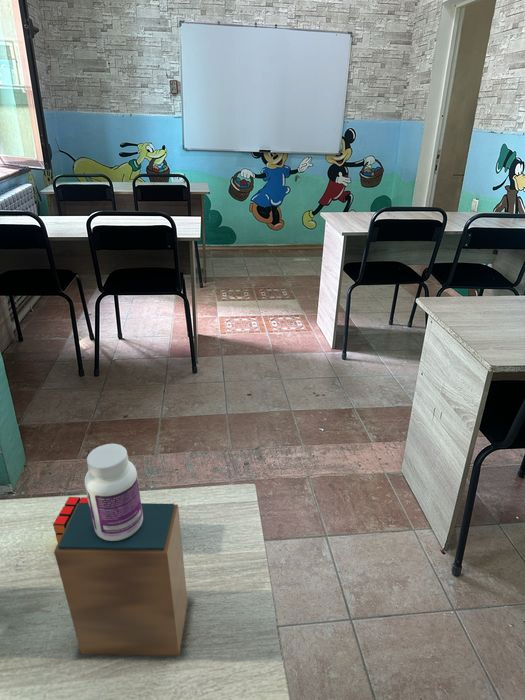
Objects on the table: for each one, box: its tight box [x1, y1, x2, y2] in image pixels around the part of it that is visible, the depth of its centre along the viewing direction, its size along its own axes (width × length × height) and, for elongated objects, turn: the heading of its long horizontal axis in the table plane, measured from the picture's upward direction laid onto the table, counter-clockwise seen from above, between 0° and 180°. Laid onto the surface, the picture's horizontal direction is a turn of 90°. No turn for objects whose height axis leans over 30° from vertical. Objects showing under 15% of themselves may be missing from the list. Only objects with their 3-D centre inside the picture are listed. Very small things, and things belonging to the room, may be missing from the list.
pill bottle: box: [84, 443, 143, 541], centre depth 51 cm, size 5×5×10 cm
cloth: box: [58, 502, 175, 550], centre depth 54 cm, size 11×6×1 cm, turn 89°
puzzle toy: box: [52, 496, 88, 543], centre depth 73 cm, size 6×6×6 cm
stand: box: [53, 503, 188, 656], centre depth 58 cm, size 12×7×18 cm, turn 89°
